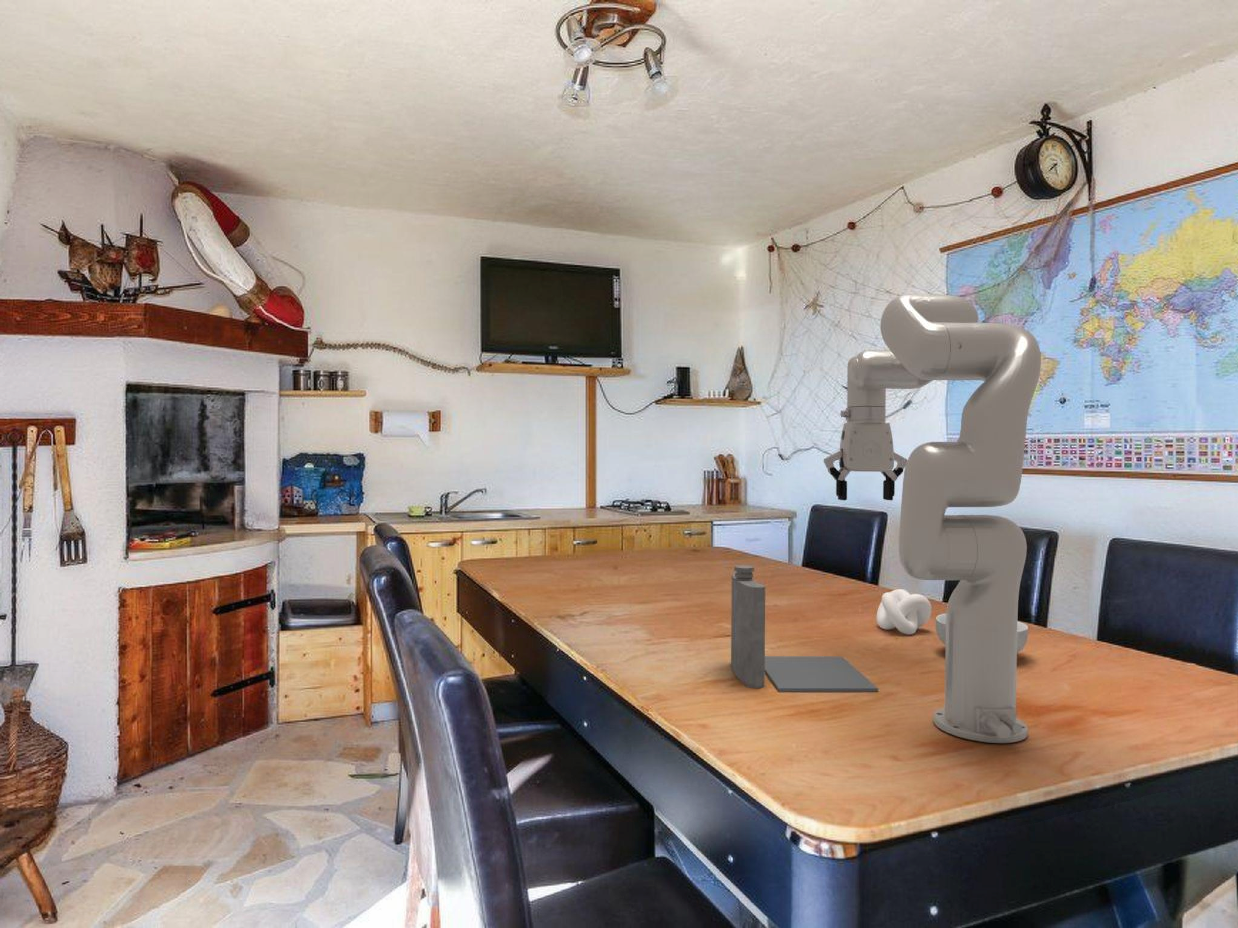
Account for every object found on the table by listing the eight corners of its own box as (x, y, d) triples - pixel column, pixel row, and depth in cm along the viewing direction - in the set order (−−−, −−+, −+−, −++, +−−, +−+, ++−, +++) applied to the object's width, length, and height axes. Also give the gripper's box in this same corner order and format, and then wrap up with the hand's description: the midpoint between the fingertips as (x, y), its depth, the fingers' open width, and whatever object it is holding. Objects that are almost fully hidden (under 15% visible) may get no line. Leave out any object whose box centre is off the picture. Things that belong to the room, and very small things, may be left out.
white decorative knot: (922, 625, 179) (923, 587, 179) (938, 638, 167) (939, 597, 167) (873, 624, 180) (873, 586, 180) (885, 636, 169) (886, 596, 168)
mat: (878, 691, 130) (878, 688, 130) (778, 691, 129) (778, 688, 129) (841, 659, 150) (841, 656, 150) (755, 659, 149) (755, 656, 149)
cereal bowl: (974, 670, 143) (975, 633, 143) (917, 648, 159) (918, 614, 159) (1048, 664, 147) (1048, 627, 147) (985, 643, 163) (986, 610, 163)
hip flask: (766, 688, 131) (767, 572, 131) (743, 688, 131) (744, 572, 131) (745, 662, 147) (746, 559, 147) (724, 662, 147) (725, 559, 147)
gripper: (831, 415, 151) (830, 501, 152) (915, 416, 153) (914, 501, 153) (818, 416, 159) (817, 498, 159) (898, 417, 160) (897, 498, 161)
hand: (865, 499), depth 156 cm, fingers open, 9 cm apart
